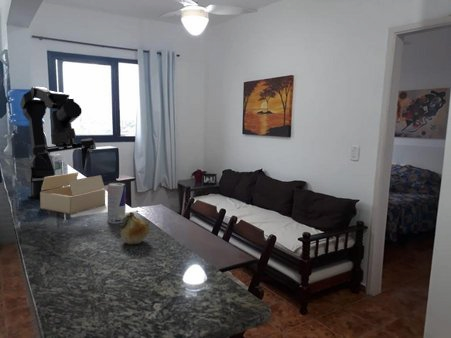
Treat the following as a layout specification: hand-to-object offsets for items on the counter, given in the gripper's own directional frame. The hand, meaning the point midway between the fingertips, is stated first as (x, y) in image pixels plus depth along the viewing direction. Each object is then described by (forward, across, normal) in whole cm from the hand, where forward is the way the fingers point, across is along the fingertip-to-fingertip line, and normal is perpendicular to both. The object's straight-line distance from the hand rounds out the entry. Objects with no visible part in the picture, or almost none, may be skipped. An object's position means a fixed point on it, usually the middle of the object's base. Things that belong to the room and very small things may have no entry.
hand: (69, 172), depth 111 cm
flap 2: (+4, +4, +5) cm, 8 cm away
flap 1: (0, -5, +12) cm, 13 cm away
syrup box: (-5, -15, +51) cm, 53 cm away
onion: (+27, +17, -26) cm, 41 cm away
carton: (+11, -2, +11) cm, 15 cm away
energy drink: (+20, +12, -7) cm, 24 cm away
